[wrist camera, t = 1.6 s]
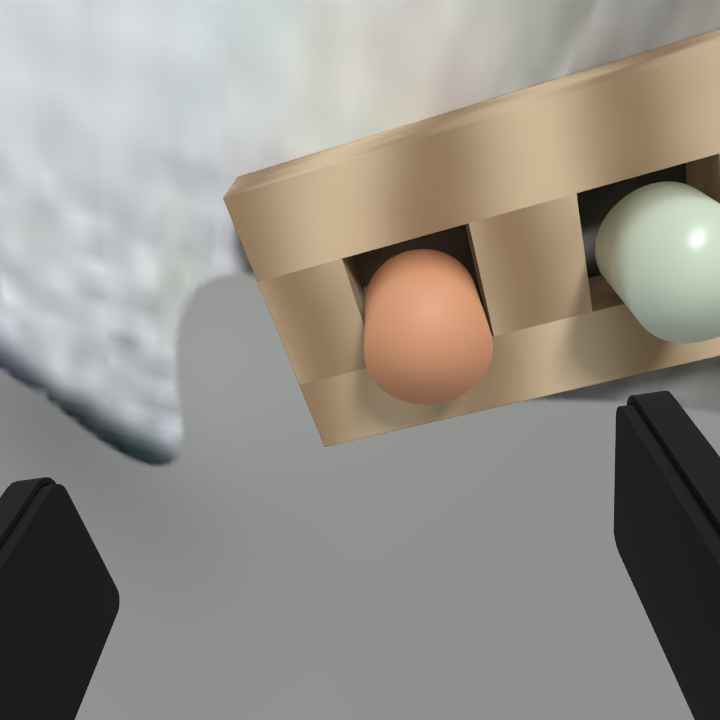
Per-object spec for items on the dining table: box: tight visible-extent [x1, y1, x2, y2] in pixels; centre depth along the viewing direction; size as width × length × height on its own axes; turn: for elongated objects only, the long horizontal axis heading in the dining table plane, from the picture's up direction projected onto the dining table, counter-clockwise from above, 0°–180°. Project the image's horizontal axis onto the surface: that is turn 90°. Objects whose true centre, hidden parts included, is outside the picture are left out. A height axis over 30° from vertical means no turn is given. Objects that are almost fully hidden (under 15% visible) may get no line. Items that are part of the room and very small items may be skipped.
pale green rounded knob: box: [595, 181, 720, 343], centre depth 23 cm, size 4×4×4 cm
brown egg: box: [364, 249, 493, 405], centre depth 24 cm, size 4×4×4 cm
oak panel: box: [223, 29, 720, 447], centre depth 26 cm, size 30×12×3 cm, turn 107°
